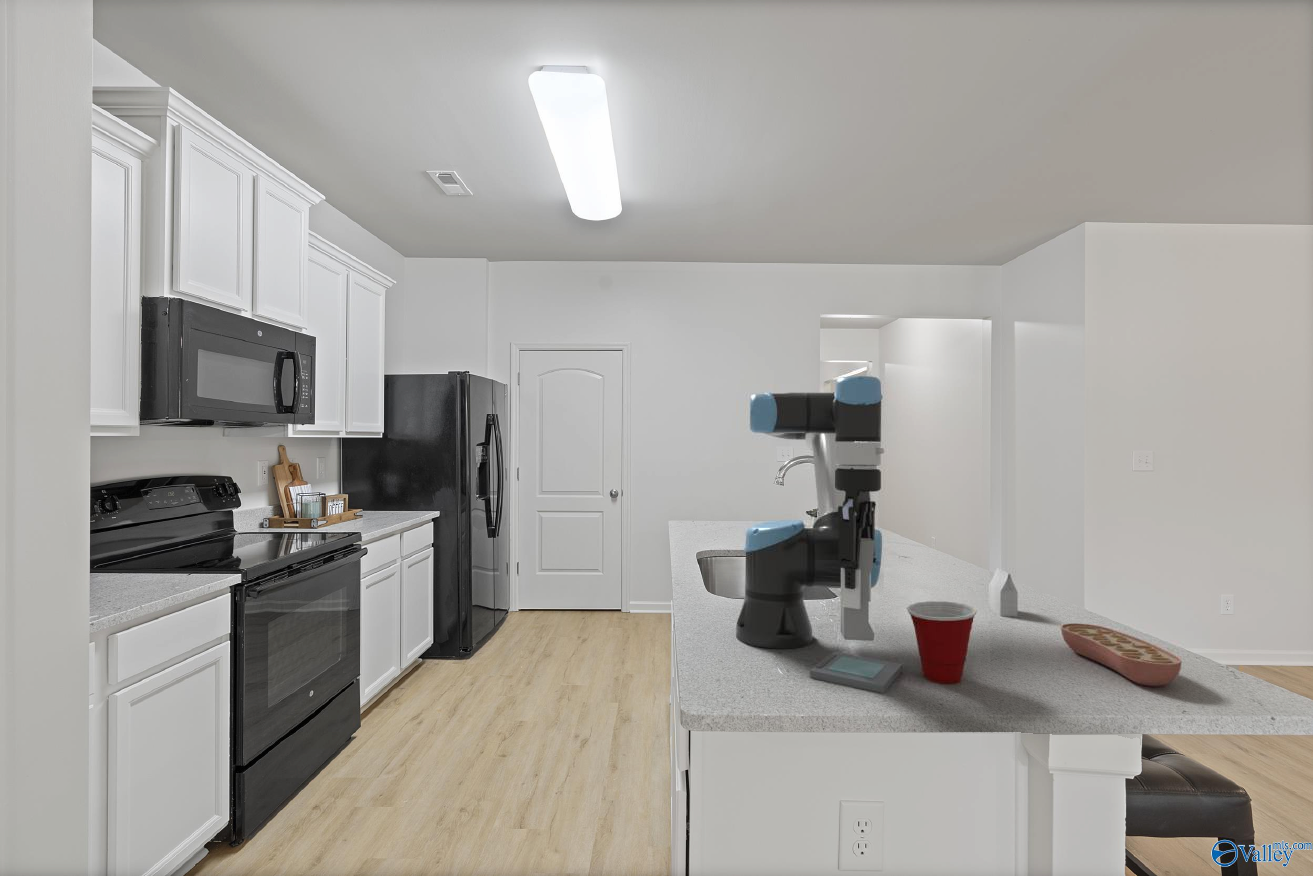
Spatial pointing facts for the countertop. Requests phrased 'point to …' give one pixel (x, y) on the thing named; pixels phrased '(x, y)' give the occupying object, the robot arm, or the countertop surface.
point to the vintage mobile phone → (858, 619)
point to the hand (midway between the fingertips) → (857, 603)
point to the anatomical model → (1123, 653)
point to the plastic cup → (942, 638)
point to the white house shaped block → (1003, 594)
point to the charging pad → (857, 671)
